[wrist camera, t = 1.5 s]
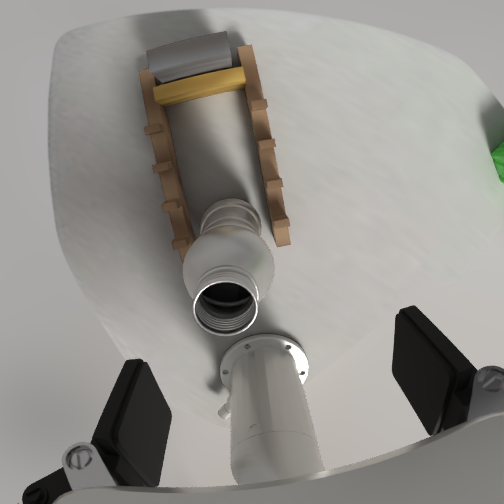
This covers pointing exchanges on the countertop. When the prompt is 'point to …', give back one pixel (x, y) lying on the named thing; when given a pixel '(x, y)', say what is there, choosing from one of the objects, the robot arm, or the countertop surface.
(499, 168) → the fruit basket
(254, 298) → the grey bulging hollow cylinder
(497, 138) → the countertop surface
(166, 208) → the wooden peg rack
